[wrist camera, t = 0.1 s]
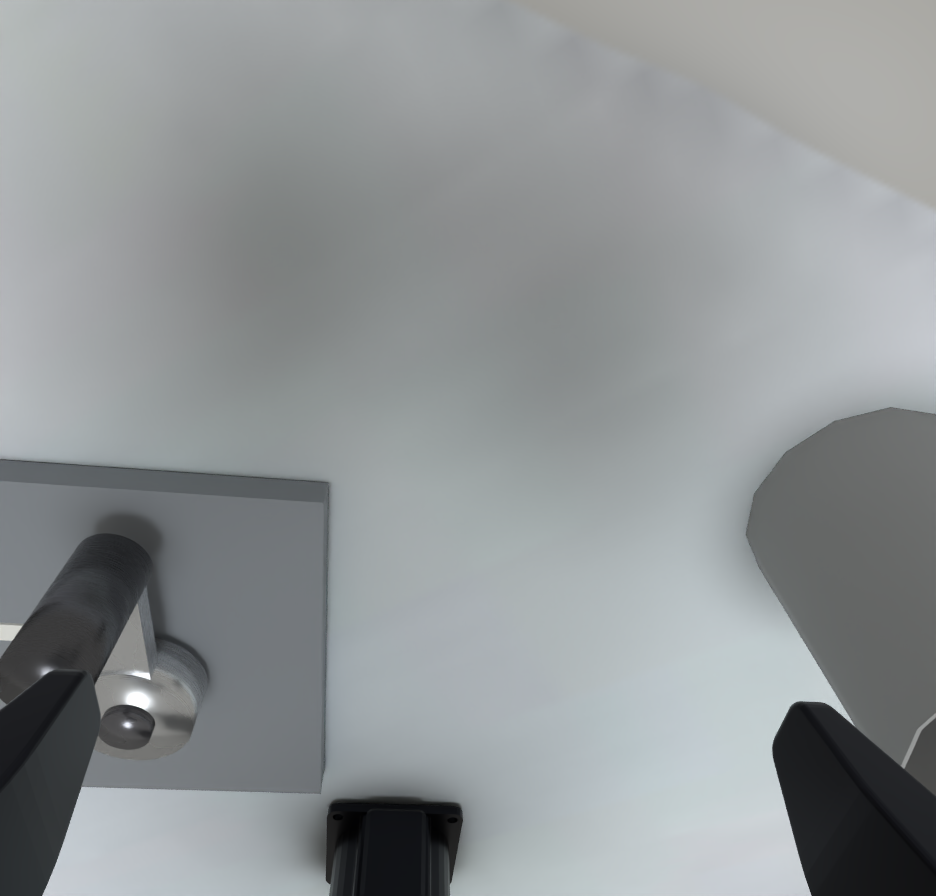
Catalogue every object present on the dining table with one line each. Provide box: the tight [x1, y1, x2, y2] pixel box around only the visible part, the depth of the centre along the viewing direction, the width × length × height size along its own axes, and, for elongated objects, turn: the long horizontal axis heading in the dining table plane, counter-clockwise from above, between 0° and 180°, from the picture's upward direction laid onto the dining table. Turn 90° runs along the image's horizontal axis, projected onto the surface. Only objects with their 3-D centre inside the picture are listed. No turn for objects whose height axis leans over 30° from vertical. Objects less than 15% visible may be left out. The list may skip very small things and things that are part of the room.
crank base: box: [0, 460, 328, 794], centre depth 26 cm, size 16×13×4 cm
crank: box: [0, 533, 208, 760], centre depth 23 cm, size 10×4×6 cm, turn 174°
